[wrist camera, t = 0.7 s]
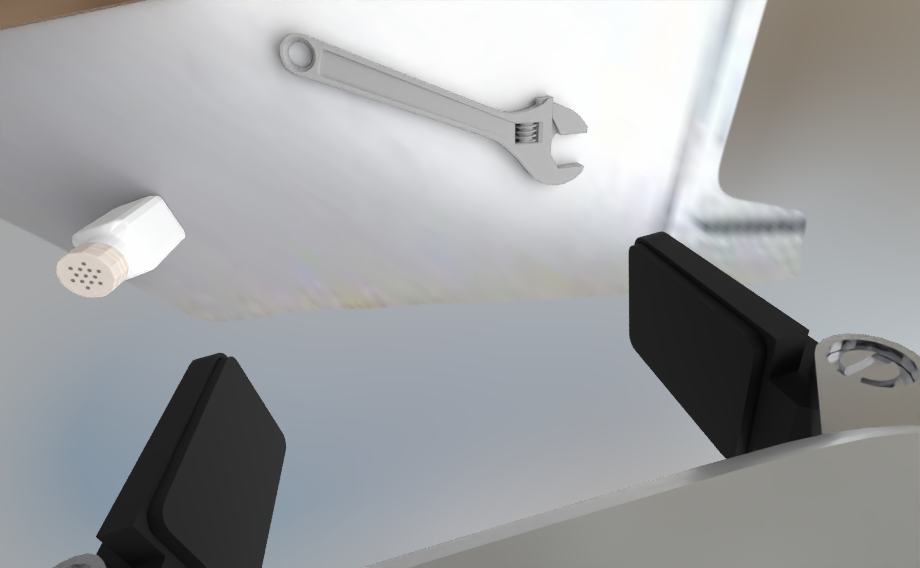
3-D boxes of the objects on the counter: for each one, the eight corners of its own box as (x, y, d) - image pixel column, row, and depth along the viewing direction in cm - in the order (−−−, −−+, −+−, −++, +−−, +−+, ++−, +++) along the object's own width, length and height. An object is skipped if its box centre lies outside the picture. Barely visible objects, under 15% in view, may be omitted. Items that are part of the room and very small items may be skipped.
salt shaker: (160, 190, 34) (93, 236, 26) (190, 235, 36) (137, 291, 28) (112, 207, 34) (29, 259, 26) (145, 251, 36) (78, 312, 28)
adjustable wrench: (279, 67, 32) (274, 68, 31) (302, -30, 30) (298, -34, 28) (560, 188, 40) (567, 194, 39) (596, 120, 38) (606, 124, 36)
